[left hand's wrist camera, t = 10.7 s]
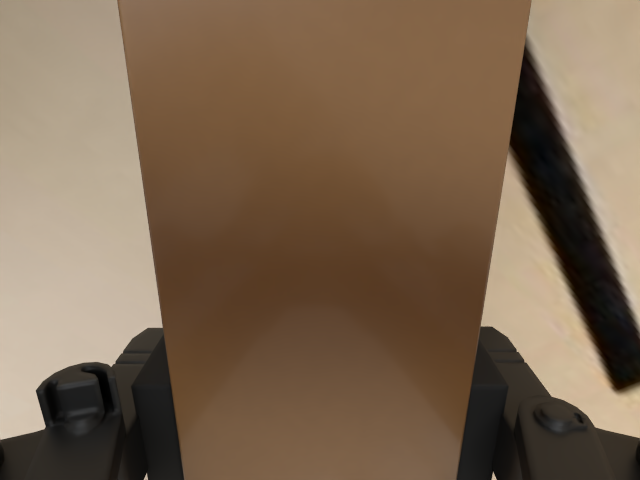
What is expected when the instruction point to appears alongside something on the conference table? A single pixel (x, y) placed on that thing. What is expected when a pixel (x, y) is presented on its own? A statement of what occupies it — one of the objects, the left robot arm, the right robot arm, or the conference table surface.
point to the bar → (322, 223)
